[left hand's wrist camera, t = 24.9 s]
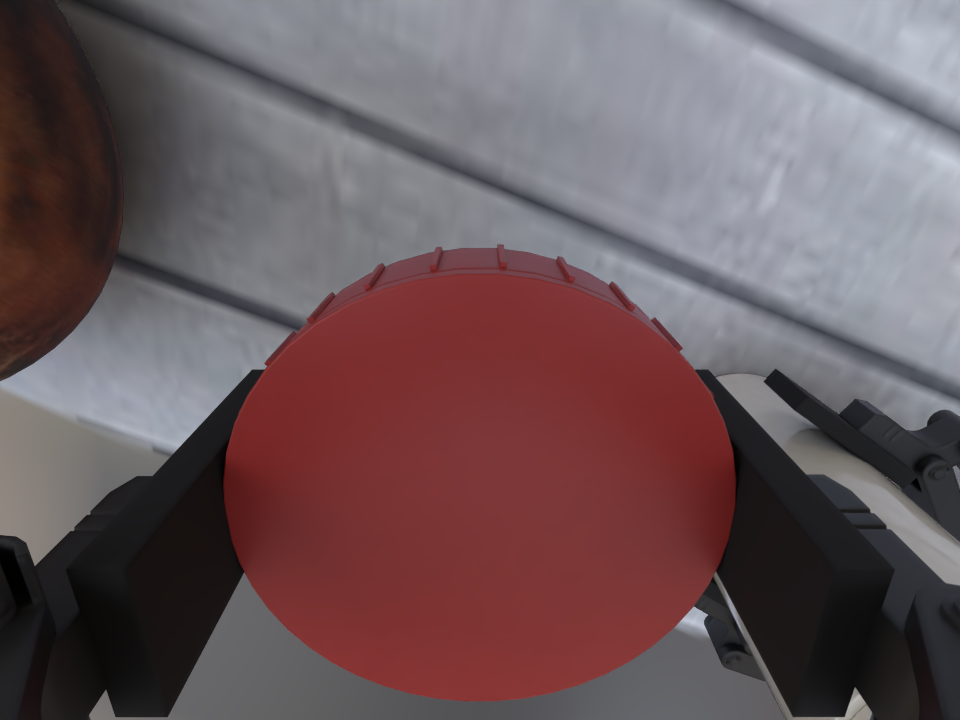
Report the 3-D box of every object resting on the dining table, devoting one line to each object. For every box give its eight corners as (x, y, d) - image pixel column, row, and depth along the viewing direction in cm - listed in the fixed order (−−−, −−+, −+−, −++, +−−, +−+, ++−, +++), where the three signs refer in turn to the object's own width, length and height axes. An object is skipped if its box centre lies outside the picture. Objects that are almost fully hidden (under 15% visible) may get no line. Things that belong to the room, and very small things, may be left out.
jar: (632, 483, 34) (797, 883, 16) (688, 356, 31) (970, 677, 13) (762, 514, 34) (1056, 928, 17) (830, 394, 31) (1276, 744, 14)
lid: (227, 570, 13) (185, 644, 11) (313, 172, 10) (274, 182, 8) (595, 662, 14) (613, 744, 13) (781, 330, 11) (844, 373, 9)
